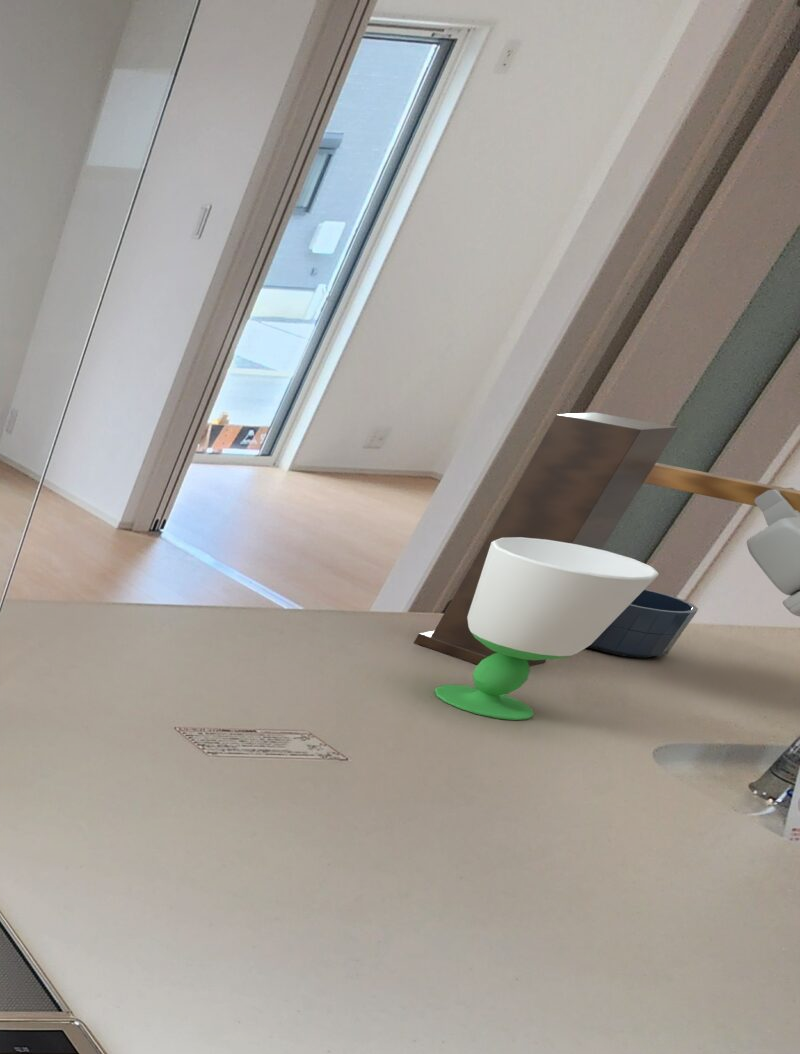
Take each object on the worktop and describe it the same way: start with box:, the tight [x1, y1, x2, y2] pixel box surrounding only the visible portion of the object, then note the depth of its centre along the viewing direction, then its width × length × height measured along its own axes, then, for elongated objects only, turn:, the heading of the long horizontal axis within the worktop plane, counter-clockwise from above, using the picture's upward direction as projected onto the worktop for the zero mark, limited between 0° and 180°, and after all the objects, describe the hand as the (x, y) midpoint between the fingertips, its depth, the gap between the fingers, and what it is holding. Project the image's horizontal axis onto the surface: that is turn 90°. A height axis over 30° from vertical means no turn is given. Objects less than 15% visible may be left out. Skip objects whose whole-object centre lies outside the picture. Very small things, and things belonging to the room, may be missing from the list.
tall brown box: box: [413, 411, 679, 667], centre depth 126 cm, size 10×10×26 cm
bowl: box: [587, 588, 699, 659], centre depth 138 cm, size 11×11×6 cm
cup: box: [434, 537, 659, 721], centre depth 115 cm, size 14×14×16 cm
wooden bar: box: [643, 462, 800, 513], centre depth 128 cm, size 18×2×2 cm, turn 26°
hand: (772, 492), depth 124 cm, fingers closed on wooden bar, 2 cm apart
